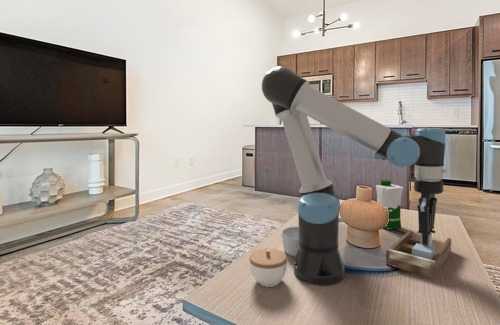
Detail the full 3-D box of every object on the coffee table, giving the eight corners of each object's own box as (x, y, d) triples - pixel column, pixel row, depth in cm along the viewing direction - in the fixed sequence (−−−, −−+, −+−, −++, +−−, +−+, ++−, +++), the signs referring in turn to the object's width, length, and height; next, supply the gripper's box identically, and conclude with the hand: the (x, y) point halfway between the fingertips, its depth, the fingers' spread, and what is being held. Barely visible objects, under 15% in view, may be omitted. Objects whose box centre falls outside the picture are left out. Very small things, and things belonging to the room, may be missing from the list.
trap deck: (386, 264, 90) (386, 249, 89) (409, 241, 107) (409, 228, 106) (433, 278, 81) (434, 262, 80) (450, 251, 98) (451, 237, 97)
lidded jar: (284, 271, 88) (283, 242, 87) (290, 290, 77) (289, 258, 76) (249, 273, 88) (248, 244, 86) (251, 292, 77) (250, 260, 76)
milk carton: (389, 222, 129) (390, 178, 126) (404, 228, 120) (406, 182, 118) (372, 224, 126) (373, 180, 124) (387, 231, 118) (388, 184, 115)
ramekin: (319, 245, 107) (319, 227, 106) (318, 261, 94) (318, 241, 93) (284, 242, 110) (284, 225, 109) (278, 257, 98) (278, 238, 97)
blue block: (411, 260, 86) (411, 248, 86) (416, 255, 90) (416, 243, 90) (430, 266, 83) (431, 253, 83) (434, 260, 87) (435, 247, 86)
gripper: (438, 183, 79) (434, 264, 82) (447, 177, 88) (444, 249, 91) (408, 181, 84) (405, 256, 87) (420, 175, 93) (418, 243, 96)
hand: (425, 253), depth 89 cm, fingers closed
